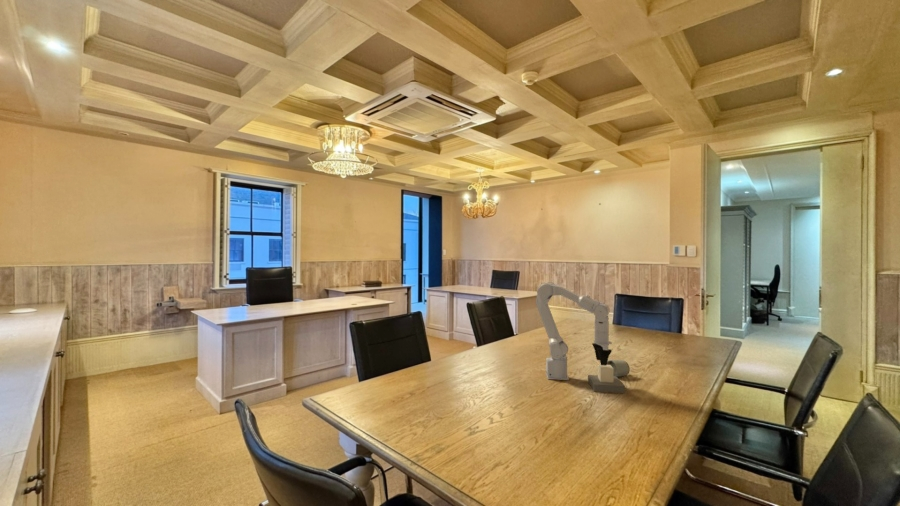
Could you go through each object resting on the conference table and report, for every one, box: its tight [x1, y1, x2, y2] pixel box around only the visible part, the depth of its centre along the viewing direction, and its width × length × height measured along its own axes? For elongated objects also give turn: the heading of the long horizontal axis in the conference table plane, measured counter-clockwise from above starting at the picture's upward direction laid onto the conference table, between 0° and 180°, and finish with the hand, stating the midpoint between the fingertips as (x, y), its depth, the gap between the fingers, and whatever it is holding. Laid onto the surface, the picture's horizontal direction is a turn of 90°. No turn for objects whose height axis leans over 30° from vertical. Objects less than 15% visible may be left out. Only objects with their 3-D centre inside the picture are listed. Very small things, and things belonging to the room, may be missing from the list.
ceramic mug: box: [607, 359, 631, 378], centre depth 174 cm, size 11×8×8 cm
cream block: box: [597, 363, 613, 382], centre depth 157 cm, size 5×5×6 cm
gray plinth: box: [587, 374, 626, 394], centre depth 157 cm, size 12×12×3 cm
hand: (601, 362), depth 160 cm, fingers open, 7 cm apart
